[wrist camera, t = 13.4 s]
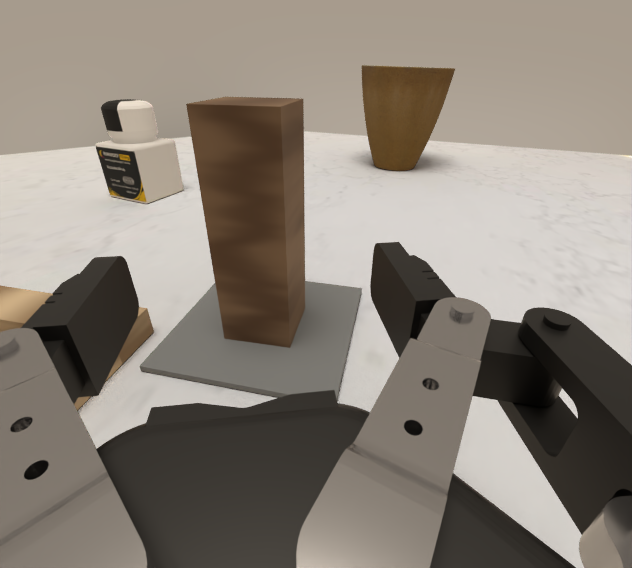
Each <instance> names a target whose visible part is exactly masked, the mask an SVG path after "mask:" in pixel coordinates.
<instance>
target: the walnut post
mask: <svg viewBox="0 0 632 568" xmlns="http://www.w3.org/2000/svg"><path fill="white" fill-rule="evenodd" d="M186 105H187V111H188V117H189V123H190V129H191V136H192V142H193V148H194V154H195V160H196V167H197V173H198V179H199V185H200V191H201V197H202V203H203V210H204V216H205V222H206V228H207V234H208V240H209V247H210V253H211V259H212V265H213V271H214V277H215V284H216V290H217V296H218V302H219V308H220V314H221V321H222V327H223V333H224V339H230V340H237V341H244V342H252V343H259V344H266V345H273V346H280V347H287V348H290V347H291V344H292V341H293V339H294V336H295V334H296V331H297V328H298V326H299V323H300V321H301V318H302V315H303V313H304V310H305V235H304V130H303V129H304V127H303V99H291V98H253V97H250V98H249V97H222V98H217V99H211V100H206V101H200V102H194V103H189V104H186Z"/></svg>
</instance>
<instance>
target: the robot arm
mask: <svg viewBox="0 0 632 568" xmlns="http://www.w3.org/2000/svg"><path fill="white" fill-rule="evenodd" d="M371 297H372V301H373V303H374V305H375V307H376V309H377V312H378V314H379V316H380V318H381V320H382V322H383V324H384V326H385V328H386V331H387V333H388V335H389V337H390V339H391V341H392V343H393V345H394V348H395V350H396V352H397V354H398V356H399V360H398V362H397V364H396V366H395V368H394V370H393V371H392V373H391V375H390V377H389V379H388V381H387V383H386V384H385V386H384V388H383V390H382V392H381V394H380V395H379V397H378V399H377V401H376V403H375V405H374V407H373V408H372V410H371V412H368V411H365V410H363V409H360V408H357V407H354V406H349V405H345V404H338V403H337V399H336V395H335V390H328V391H317V392H307V393H297V394H290V395H287V396H283V397H280V398H277V399H274V400H271V401H267V402H264V403H261V404H258V405H255V406H251V407H247V408H236V407H228V406H219V405H210V404H202V403H194V404H184V405H174V406H164V407H153V408H151V411H150V414H149V417H148V420H147V423H146V424H142V425H140V426H137V427H135V428H132V429H130V430H127V431H125V432H123V433H122V434H120V435H118V436H116V437H114V438H112V439H111V440H109V441H108V442H106V443H104V444H103V445H102V446H100V447H99V448H97V449H96V447H95V445H94V443H93V441H92V439H91V437H90V435H89V433H88V431H87V429H86V427H85V425H84V423H83V421H82V419H81V417H80V415H79V413H78V411H77V409H76V407H75V405H74V404H75V402H76V400H77V399H78V397H89V396H98V395H99V393H100V391H101V389H102V387H103V385H104V383H105V381H106V379H107V377H108V375H109V373H110V371H111V369H112V367H113V365H114V363H115V361H116V359H117V357H118V355H119V353H120V351H121V349H122V347H123V345H124V343H125V341H126V339H127V337H128V335H129V333H130V331H131V329H132V327H133V325H134V323H135V321H136V319H137V317H138V312H139V303H138V298H137V294H136V291H135V288H134V285H133V281H132V278H131V275H130V272H129V268H128V265H127V262H126V260H125V259H124V258H123V257H122V256H115V257H96V258H94V259H92V261H91V262H90V263H89V264H88V265H87V266H86V267H85V269H84V270H83V271H82V272H81V273H80V274H77V275H75V276H73V277H72V278H70V279H68V280H67V281H65V282H63V283H62V284H61V285H60V286H59V287H58V288H57V289H56V290H55V291H54V292H53V295H51V296H50V297H49V298H48V299H47V300H46V301H45V304H42V305H41V306H40V307H39V309H38V310H37V311H36V312H35V313H34V314H33V315H32V316H31V317H30V318H29V319H28V320H27V321H26V323H25V324H24V325H23V326H22V327H21V328H15V329H10V330H6V331H2V332H0V568H576V567H574V566H573V565H572V564H571V563H569V562H568V561H567V560H565V559H564V558H563V557H562V556H560V555H559V554H558V553H556V552H555V551H554V550H552V549H551V548H550V547H548V546H547V545H546V544H545V543H543V542H542V541H541V540H539V539H538V538H537V537H535V536H534V535H533V534H532V533H530V532H529V531H528V530H526V529H525V528H524V527H522V526H521V525H520V524H519V523H517V522H516V521H515V520H513V519H512V518H511V517H509V516H508V515H507V514H506V513H504V512H503V511H502V510H500V509H499V508H498V507H496V506H495V505H494V504H493V503H491V502H490V501H489V500H487V499H486V498H485V497H483V496H482V495H481V494H479V493H478V492H477V491H476V490H474V489H473V488H472V487H470V486H469V485H468V484H466V483H465V482H464V481H463V480H461V479H460V478H459V477H457V476H456V475H455V474H453V470H454V466H455V462H456V458H457V454H458V450H459V446H460V443H461V439H462V435H463V431H464V427H465V423H466V419H467V415H468V411H469V407H470V404H471V400H472V396H477V397H483V398H489V399H495V400H498V402H499V404H500V405H501V407H502V408H503V410H504V412H505V413H506V415H507V416H508V418H509V420H510V421H511V423H512V424H513V426H514V428H515V429H516V431H517V432H518V434H519V435H520V437H521V439H522V440H523V442H524V443H525V445H526V447H527V448H528V450H529V451H530V453H531V455H532V456H533V458H534V459H535V461H536V462H537V464H538V466H539V467H540V469H541V470H542V472H543V474H544V475H545V477H546V478H547V480H548V482H549V483H550V485H551V486H552V488H553V490H554V491H555V493H556V494H557V496H558V497H559V499H560V501H561V502H562V504H563V505H564V507H565V509H566V510H567V512H568V513H569V515H570V517H571V518H572V520H573V521H574V523H575V525H576V526H577V528H578V529H579V531H580V532H581V534H582V536H581V538H580V542H579V552H580V557H581V560H582V563H583V566H584V568H632V365H631V364H630V363H628V362H627V361H626V360H625V359H624V358H623V357H621V356H620V355H619V354H618V353H617V352H616V351H615V350H613V349H612V348H611V347H610V346H609V345H608V344H606V343H605V342H604V341H603V340H602V339H601V338H600V337H598V336H597V335H596V334H595V333H594V332H593V331H591V330H590V329H589V328H588V327H587V326H586V325H585V324H583V323H582V322H581V321H580V320H578V319H577V318H575V317H573V316H571V315H569V314H567V313H565V312H562V311H559V310H555V309H550V308H533V309H530V310H528V311H526V313H525V314H524V317H523V320H522V322H521V323H516V322H508V321H500V320H494V319H491V316H490V314H489V312H488V311H487V310H486V309H485V308H484V307H483V306H481V305H480V304H478V303H476V302H474V301H471V300H468V299H464V298H457V297H455V295H454V294H453V293H452V292H451V291H450V289H449V288H448V287H447V286H446V285H445V284H444V282H443V281H442V280H441V279H439V276H438V275H437V274H436V273H435V272H433V269H432V268H431V267H430V266H429V265H428V263H427V262H425V261H424V260H422V259H420V258H418V257H416V256H415V255H412V256H409V254H408V253H407V252H406V251H405V249H404V248H403V247H402V245H401V244H400V243H399V242H391V243H377V244H376V245H375V247H374V254H373V264H372V275H371ZM562 388H563V389H564V391H565V392H566V393H567V394H568V395H569V396H570V398H571V399H572V400H573V402H574V403H575V406H576V408H577V412H578V419H577V417H576V416H575V415H574V414H573V413H572V411H571V410H570V409H569V408H568V407H567V405H566V404H565V403H564V402H563V400H562V399H561V398H560V397H559V396H558V395H559V393H560V391H561V389H562Z"/></svg>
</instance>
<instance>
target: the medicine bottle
mask: <svg viewBox="0 0 632 568" xmlns="http://www.w3.org/2000/svg"><path fill="white" fill-rule="evenodd" d="M101 110H102V114H103V117H104V121H105V125H106V128H107V132H108V135H109V136H110V137H112V140H109V141H104V142H99V143H97V144H96V149H97V153H98V156H99V159H100V163H101V166H102V169H103V173H104V176H105V179H106V183H107V186H108V190H109V193H110V195H111V196H112V197H116V198H121V199H126V200H130V201H135V202H140V203H145V204H148V203H150V202H153V201H156V200H158V199H161V198H164V197H167V196H169V195H172V194H175V193H177V192H180V191H183V183H182V178H181V172H180V167H179V162H178V156H177V151H176V145H175V141H174V140H172V139H165V138H157V136H156V134H158V129H157V124H156V119H155V114H154V109H153V106H152V105H151V104H150V103H148V102H146V101H142V100H115V101H108V102H106V103H105V104H103V105H102V107H101Z"/></svg>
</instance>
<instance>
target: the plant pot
mask: <svg viewBox="0 0 632 568" xmlns="http://www.w3.org/2000/svg"><path fill="white" fill-rule="evenodd" d="M454 71H455V69H454V68H423V67H392V66H367V65H362V88H363V102H364V112H365V121H366V128H367V134H368V140H369V145H370V149H371V154H372V158H373V162H374V165H375V166H376V167H378V168H382V169H386V170H395V171H404V170H410V169H413V168H414V167H415V165H416V163H417V161H418V159H419V158H420V156H421V154H422V152H423V150H424V148H425V146H426V144H427V142H428V140H429V138H430V135H431V133H432V131H433V129H434V127H435V124H436V122H437V119H438V117H439V114H440V112H441V109H442V107H443V104H444V101H445V98H446V95H447V92H448V89H449V86H450V83H451V80H452V77H453V74H454Z"/></svg>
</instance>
